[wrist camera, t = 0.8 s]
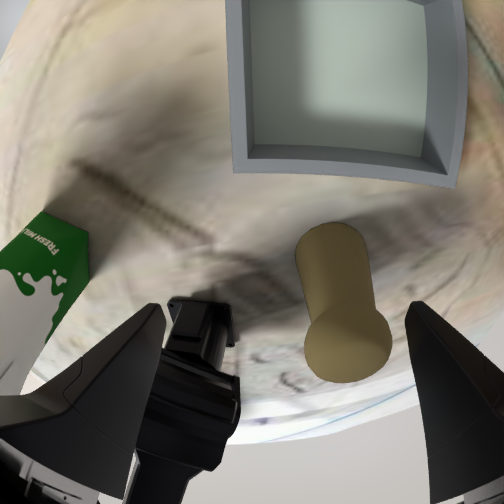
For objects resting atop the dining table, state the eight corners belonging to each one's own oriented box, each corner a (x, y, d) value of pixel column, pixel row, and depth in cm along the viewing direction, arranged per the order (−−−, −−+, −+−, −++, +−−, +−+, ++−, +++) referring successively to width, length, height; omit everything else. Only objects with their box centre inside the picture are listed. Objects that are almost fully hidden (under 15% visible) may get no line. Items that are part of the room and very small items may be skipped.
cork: (377, 234, 21) (426, 342, 12) (347, 289, 24) (368, 397, 15) (309, 213, 20) (325, 325, 11) (285, 274, 24) (281, 388, 15)
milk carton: (42, 262, 27) (-46, 383, 10) (36, 199, 22) (-91, 328, 6) (96, 290, 28) (13, 437, 12) (96, 226, 23) (-36, 400, 7)
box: (425, 166, 17) (454, 188, 13) (244, 154, 18) (233, 173, 15) (428, 2, 10) (459, -11, 6) (236, -23, 11) (223, -49, 7)
